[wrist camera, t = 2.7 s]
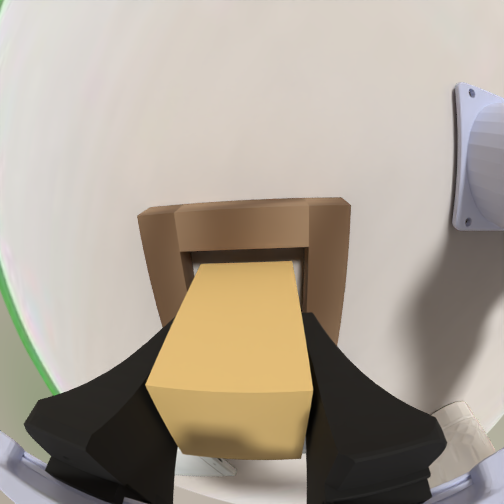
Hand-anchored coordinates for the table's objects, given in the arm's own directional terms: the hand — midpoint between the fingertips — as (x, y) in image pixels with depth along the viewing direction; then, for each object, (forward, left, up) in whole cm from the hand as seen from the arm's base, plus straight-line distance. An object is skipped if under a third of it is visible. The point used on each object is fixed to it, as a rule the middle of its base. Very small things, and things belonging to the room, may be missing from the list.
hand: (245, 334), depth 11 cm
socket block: (0, 0, -4) cm, 4 cm away
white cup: (-19, +18, -4) cm, 26 cm away
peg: (0, 0, -3) cm, 2 cm away
